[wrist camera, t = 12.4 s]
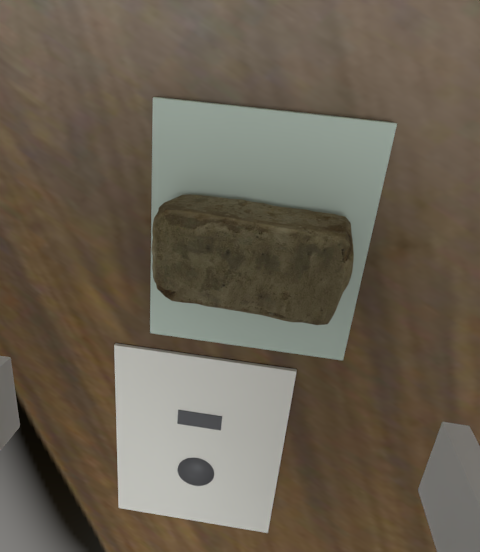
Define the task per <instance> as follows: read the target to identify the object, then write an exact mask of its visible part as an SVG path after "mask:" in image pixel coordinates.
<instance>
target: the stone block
mask: <svg viewBox="0 0 480 552" xmlns="http://www.w3.org/2000/svg"><path fill="white" fill-rule="evenodd" d="M152 233H153V241H152V248H151V251H152V255H153V264H152V269H153V278H154V281H155V283H156V286H157V289H158V290H159V291H160V292H161V293H162V294H163V295H164V296H165V297H166V298H168V299H170V300H171V301H175V302H182V303H194V304H200V305H203V306H207V307H215V308H222V309H227V310H234V311H240V312H246V313H251V314H258V315H263V316H267V317H271V318H275V319H279V320H283V321H288V322H303V323H308V324H313V325H325V324H328V323H329V322H330V320H331V319H332V317H333V315H334V313H335V311H336V308H337V306H338V304H339V301H340V299H341V296H342V294H343V292H344V291H345V289H346V287H347V286H348V284H349V281H350V278H351V275H352V270H353V260H354V250H353V239H352V232H351V223H350V222H349V220H348V219H347V218H346V217H345V216H339V215H336V214H330V213H322V212H315V211H310V210H306V209H297V208H288V207H279V206H273V205H269V204H265V203H258V202H251V201H247V200H243V199H228V198H220V197H213V196H205V195H193V194H187V195H181V196H179V197H176V198H174V199H172V200H169V201H167V202H164V203H163V204H162V205H161V206H160V207H159V210H158V213H157V214H156V216H155V217H154V221H153V228H152Z"/></svg>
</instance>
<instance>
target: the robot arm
mask: <svg viewBox="0 0 480 552" xmlns="http://www.w3.org/2000/svg"><path fill="white" fill-rule="evenodd" d="M19 427H20V424H19V416H18V408H17V401H16V394H15V387H14V379H13V372H12V365H11V357H4V356H0V450H1V449H2V448H3V447H4V445H5V444H6V443H7V442H8V441H9V439H10V438H11V437H12V436H13V434H14V433H15V432H16V431H17V429H18V428H19ZM418 492H419V495H420V498H421V501H422V505H423V508H424V511H425V514H426V517H427V521H428V524H429V527H430V530H431V534H432V537H433V540H434V543H435V547H436V550H437V552H480V446H479V444H478V442H477V440H476V438H475V436H474V434H473V432H472V430H471V428H470V426H467V425H460V424H453V423H447V422H442V424H441V427H440V430H439V432H438V435H437V438H436V441H435V444H434V446H433V449H432V452H431V455H430V458H429V460H428V463H427V466H426V469H425V471H424V474H423V477H422V480H421V483H420V485H419V488H418Z"/></svg>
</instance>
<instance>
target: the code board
mask: <svg viewBox="0 0 480 552" xmlns="http://www.w3.org/2000/svg"><path fill="white" fill-rule="evenodd" d="M114 355H115V392H116V428H117V464H118V501H119V508H123V509H128V510H134V511H140V512H146V513H152V514H158V515H164V516H170V517H176V518H182V519H188V520H194V521H199V522H205V523H211V524H217V525H223V526H229V527H235V528H241V529H247V530H253V531H259V532H265V533H268V529H269V523H270V518H271V512H272V506H273V501H274V495H275V490H276V484H277V478H278V473H279V467H280V462H281V456H282V450H283V445H284V439H285V434H286V428H287V422H288V417H289V411H290V406H291V400H292V394H293V389H294V383H295V378H296V372H297V369H292V368H285V367H278V366H271V365H264V364H257V363H250V362H243V361H236V360H229V359H222V358H215V357H209V356H202V355H195V354H188V353H181V352H174V351H167V350H160V349H153V348H146V347H139V346H132V345H126V344H119V343H115V345H114Z"/></svg>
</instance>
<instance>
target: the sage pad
mask: <svg viewBox="0 0 480 552" xmlns="http://www.w3.org/2000/svg"><path fill="white" fill-rule="evenodd" d="M396 126H397V123H394V122H387V121H378V120H368V119H359V118H350V117H340V116H331V115H322V114H313V113H303V112H294V111H285V110H275V109H266V108H257V107H247V106H238V105H229V104H219V103H210V102H201V101H191V100H182V99H173V98H164V97H153V123H152V208H151V248H152V241H153V233H152V228H153V221H154V217H155V216H156V214H157V213H158V210H159V207H160V206H161V205H162V204H163V203H164V202H167V201H169V200H172V199H174V198H176V197H179V196H181V195H187V194H193V195H205V196H213V197H220V198H228V199H243V200H247V201H251V202H258V203H265V204H269V205H273V206H279V207H288V208H297V209H306V210H310V211H315V212H322V213H330V214H336V215H339V216H345V217H346V218H347V219H348V220H349V222H350V223H351V232H352V239H353V250H354V260H353V270H352V275H351V278H350V281H349V284H348V286H347V287H346V289H345V291H344V292H343V294H342V296H341V299H340V301H339V304H338V306H337V308H336V311H335V313H334V315H333V317H332V319H331V320H330V322H329V323H328V324H325V325H313V324H308V323H303V322H288V321H283V320H279V319H275V318H271V317H267V316H263V315H258V314H251V313H246V312H240V311H234V310H227V309H222V308H215V307H207V306H203V305H200V304H194V303H182V302H175V301H171V300H170V299H168V298H166V297H165V296H164V295H163V294H162V293H161V292H160V291H159V290H158V289H157V286H156V283H155V281H154V278H153V269H152V264H153V255H152V251H151V293H150V333H153V334H160V335H167V336H174V337H181V338H188V339H195V340H202V341H209V342H217V343H224V344H231V345H238V346H245V347H252V348H259V349H266V350H273V351H280V352H287V353H294V354H301V355H308V356H315V357H322V358H329V359H336V360H343V358H344V354H345V349H346V345H347V341H348V336H349V332H350V328H351V323H352V319H353V314H354V310H355V306H356V301H357V297H358V292H359V288H360V284H361V279H362V275H363V271H364V266H365V262H366V257H367V253H368V249H369V244H370V240H371V235H372V231H373V227H374V222H375V218H376V214H377V209H378V205H379V200H380V196H381V192H382V187H383V183H384V178H385V174H386V170H387V165H388V161H389V157H390V152H391V148H392V143H393V139H394V135H395V130H396Z"/></svg>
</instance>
